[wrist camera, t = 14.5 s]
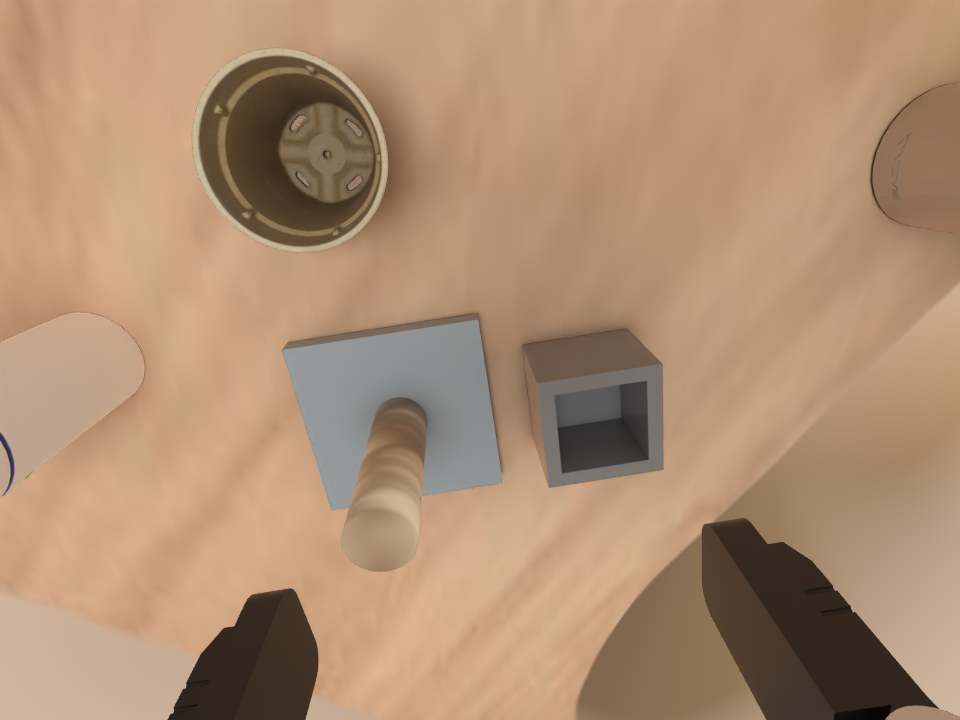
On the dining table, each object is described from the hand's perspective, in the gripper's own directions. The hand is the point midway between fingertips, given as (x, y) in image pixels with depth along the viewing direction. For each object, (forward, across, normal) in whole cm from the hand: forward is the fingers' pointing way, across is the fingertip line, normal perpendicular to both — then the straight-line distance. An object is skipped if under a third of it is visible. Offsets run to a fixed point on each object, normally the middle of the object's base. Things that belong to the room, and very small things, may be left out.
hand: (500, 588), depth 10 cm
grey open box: (+29, -7, +10) cm, 32 cm away
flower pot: (+29, +8, -9) cm, 31 cm away
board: (+29, +7, +10) cm, 31 cm away
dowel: (+27, +7, +10) cm, 30 cm away
